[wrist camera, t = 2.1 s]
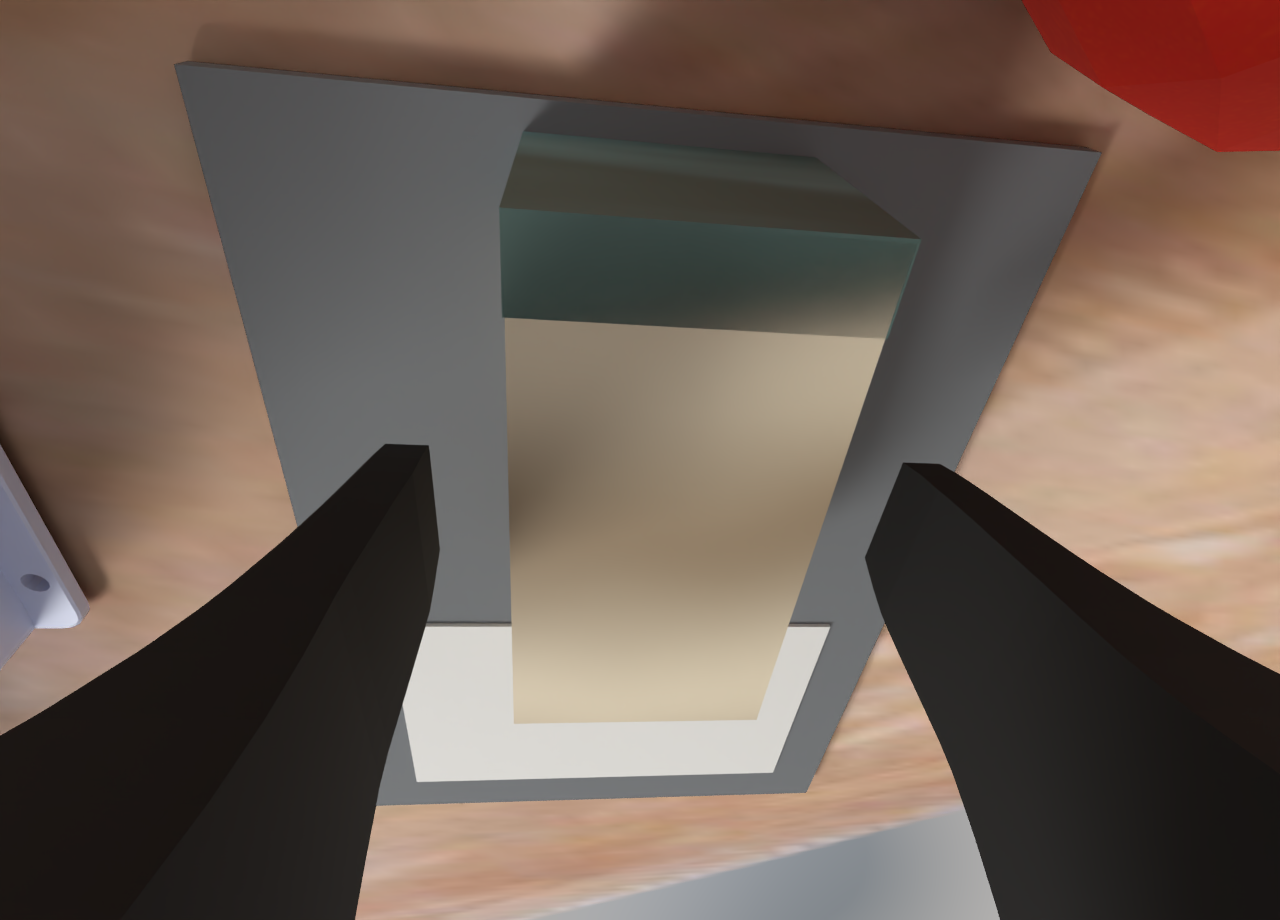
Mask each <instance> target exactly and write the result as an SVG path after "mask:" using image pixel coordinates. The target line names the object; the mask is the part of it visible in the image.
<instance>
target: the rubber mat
mask: <svg viewBox="0 0 1280 920" xmlns="http://www.w3.org/2000/svg"><path fill="white" fill-rule="evenodd" d="M174 66H175V69H176V73H177V77H178V81H179V84H180V88H181V92H182V96H183V99H184V103H185V107H186V111H187V114H188V118H189V122H190V126H191V129H192V133H193V137H194V141H195V144H196V148H197V152H198V156H199V159H200V163H201V167H202V171H203V174H204V178H205V182H206V186H207V189H208V193H209V197H210V200H211V204H212V208H213V212H214V215H215V219H216V223H217V227H218V230H219V234H220V238H221V242H222V245H223V249H224V253H225V257H226V260H227V264H228V268H229V272H230V275H231V279H232V283H233V287H234V290H235V294H236V298H237V302H238V305H239V309H240V313H241V316H242V320H243V324H244V328H245V331H246V335H247V339H248V343H249V346H250V350H251V354H252V358H253V361H254V365H255V369H256V373H257V376H258V380H259V384H260V388H261V391H262V395H263V399H264V403H265V406H266V410H267V414H268V418H269V421H270V425H271V429H272V432H273V436H274V440H275V444H276V447H277V451H278V455H279V459H280V462H281V466H282V470H283V474H284V477H285V481H286V485H287V489H288V492H289V496H290V500H291V504H292V507H293V511H294V515H295V519H296V522H297V526H299V525H301V524H302V523H303V522H304V521H305V520H306V519H307V518H308V517H309V516H310V515H311V514H312V513H314V512H315V511H316V510H317V509H318V508H319V507H320V506H321V505H322V504H323V503H324V502H325V501H326V500H327V499H328V498H330V497H331V496H332V495H333V494H334V493H335V492H336V491H337V490H338V489H339V488H340V487H341V486H342V485H343V484H344V483H345V482H346V481H347V480H348V479H349V478H350V477H351V476H352V475H353V474H354V473H355V472H356V471H357V470H358V469H359V468H360V467H361V466H362V465H363V464H364V463H365V462H366V461H367V460H368V459H369V458H370V457H371V456H372V455H373V454H374V453H375V452H377V451H378V450H379V449H380V448H381V447H382V446H383V445H384V444H407V445H429V450H430V460H431V469H432V479H433V488H434V498H435V507H436V516H437V526H438V535H439V545H440V553H439V559H438V566H437V572H436V579H435V585H434V591H433V597H432V602H431V608H430V613H429V616H428V620H427V623H426V627H425V630H424V634H423V637H422V640H421V644H420V647H419V651H418V654H417V658H416V661H415V664H414V668H413V671H412V674H411V678H410V681H409V684H408V688H407V691H406V694H405V698H404V701H403V705H402V708H401V711H400V715H399V718H398V721H397V725H396V728H395V731H394V735H393V738H392V742H391V745H390V748H389V752H388V756H387V760H386V764H385V767H384V771H383V775H382V779H381V783H380V788H379V793H378V798H377V803H376V806H381V805H414V804H447V803H480V802H513V801H546V800H579V799H613V798H646V797H679V796H712V795H745V794H778V793H806V792H807V790H808V787H809V785H810V783H811V781H812V779H813V777H814V774H815V772H816V770H817V768H818V766H819V764H820V761H821V759H822V757H823V755H824V753H825V751H826V748H827V746H828V744H829V742H830V740H831V738H832V735H833V733H834V731H835V729H836V727H837V725H838V722H839V720H840V718H841V716H842V714H843V712H844V710H845V707H846V705H847V703H848V701H849V699H850V697H851V694H852V692H853V690H854V688H855V686H856V684H857V681H858V679H859V677H860V675H861V673H862V671H863V668H864V666H865V664H866V662H867V660H868V658H869V655H870V653H871V651H872V649H873V647H874V645H875V642H876V640H877V638H878V636H879V634H880V632H881V629H882V627H883V625H884V623H885V622H884V619H883V617H882V615H881V612H880V608H879V605H878V602H877V599H876V596H875V593H874V590H873V586H872V582H871V579H870V575H869V571H868V568H867V564H866V561H865V556H866V553H867V551H868V548H869V546H870V543H871V541H872V538H873V536H874V533H875V531H876V528H877V526H878V523H879V521H880V518H881V516H882V513H883V511H884V508H885V506H886V504H887V501H888V499H889V496H890V494H891V491H892V489H893V486H894V484H895V481H896V479H897V476H898V474H899V471H900V469H901V466H902V464H903V462H904V463H932V464H941V465H943V466H945V467H946V468H948V469H950V470H952V471H953V472H954V471H955V469H956V467H957V465H958V463H959V461H960V458H961V456H962V454H963V452H964V450H965V448H966V445H967V443H968V441H969V439H970V437H971V435H972V432H973V430H974V428H975V426H976V424H977V422H978V419H979V417H980V415H981V413H982V411H983V409H984V406H985V404H986V402H987V400H988V398H989V396H990V393H991V391H992V389H993V387H994V385H995V383H996V380H997V378H998V376H999V374H1000V372H1001V370H1002V367H1003V365H1004V363H1005V361H1006V359H1007V357H1008V354H1009V352H1010V350H1011V348H1012V346H1013V344H1014V341H1015V339H1016V337H1017V335H1018V333H1019V331H1020V328H1021V326H1022V324H1023V322H1024V320H1025V318H1026V315H1027V313H1028V311H1029V309H1030V307H1031V305H1032V302H1033V300H1034V298H1035V296H1036V294H1037V292H1038V289H1039V287H1040V285H1041V283H1042V281H1043V279H1044V276H1045V274H1046V272H1047V270H1048V268H1049V266H1050V263H1051V261H1052V259H1053V257H1054V255H1055V253H1056V250H1057V248H1058V246H1059V244H1060V242H1061V240H1062V238H1063V235H1064V233H1065V231H1066V229H1067V227H1068V225H1069V222H1070V220H1071V218H1072V216H1073V214H1074V212H1075V209H1076V207H1077V205H1078V203H1079V201H1080V199H1081V196H1082V194H1083V192H1084V190H1085V188H1086V186H1087V183H1088V181H1089V179H1090V177H1091V175H1092V173H1093V170H1094V168H1095V166H1096V164H1097V162H1098V160H1099V157H1100V155H1101V152H1099V151H1096V150H1093V149H1090V148H1087V147H1078V146H1067V145H1057V144H1046V143H1036V142H1026V141H1015V140H1005V139H994V138H984V137H973V136H963V135H953V134H942V133H932V132H921V131H911V130H900V129H890V128H880V127H869V126H859V125H848V124H838V123H827V122H817V121H807V120H796V119H786V118H775V117H765V116H755V115H744V114H734V113H723V112H713V111H702V110H692V109H682V108H671V107H661V106H650V105H640V104H629V103H619V102H609V101H598V100H588V99H577V98H567V97H556V96H546V95H536V94H525V93H515V92H504V91H494V90H484V89H473V88H463V87H452V86H442V85H431V84H421V83H411V82H400V81H390V80H379V79H369V78H358V77H348V76H338V75H327V74H317V73H306V72H296V71H286V70H275V69H265V68H254V67H244V66H233V65H223V64H213V63H202V62H192V61H186V62H182V63H177V64H174ZM523 131H526V132H537V133H548V134H559V135H571V136H582V137H593V138H604V139H615V140H627V141H638V142H649V143H660V144H671V145H683V146H694V147H705V148H716V149H728V150H739V151H750V152H761V153H772V154H784V155H795V156H806V157H816V158H817V159H819V160H820V161H821V162H822V163H824V164H825V165H826V166H828V167H829V168H830V169H831V170H833V171H834V172H835V173H837V174H838V175H839V176H840V177H842V178H843V179H844V180H846V181H847V182H848V183H850V184H851V185H852V186H853V187H855V188H856V189H857V190H859V191H860V192H861V193H862V194H864V195H865V196H866V197H868V198H869V199H870V200H871V201H873V202H874V203H875V204H877V205H878V206H879V207H881V208H882V209H883V210H884V211H886V212H887V213H888V214H890V215H891V216H892V217H893V218H895V219H896V220H897V221H899V222H900V223H901V224H903V225H904V226H905V227H906V228H908V229H909V230H910V231H912V232H913V233H914V234H915V235H917V236H918V237H919V238H921V239H922V240H921V243H920V246H919V249H918V252H917V254H916V257H915V260H914V263H913V266H912V269H911V272H910V275H909V278H908V281H907V284H906V287H905V290H904V293H903V296H902V299H901V301H900V304H899V307H898V310H897V313H896V316H895V319H894V322H893V325H892V328H891V331H890V334H889V337H888V339H885V341H884V344H883V347H882V350H881V353H880V356H879V359H878V362H877V365H876V368H875V371H874V374H873V377H872V380H871V383H870V386H869V389H868V392H867V395H866V398H865V401H864V403H863V406H862V409H861V412H860V415H859V418H858V421H857V424H856V427H855V430H854V433H853V436H852V439H851V442H850V445H849V448H848V451H847V454H846V457H845V460H844V463H843V466H842V469H841V471H840V474H839V477H838V480H837V483H836V486H835V489H834V492H833V495H832V498H831V501H830V504H829V507H828V510H827V513H826V516H825V519H824V522H823V525H822V528H821V531H820V534H819V537H818V540H817V542H816V545H815V548H814V551H813V554H812V557H811V560H810V563H809V566H808V569H807V572H806V575H805V578H804V581H803V584H802V587H801V590H800V593H799V596H798V599H797V602H796V605H795V608H794V610H793V613H792V616H791V619H790V622H789V625H788V628H787V631H786V634H785V637H784V640H783V643H782V646H781V649H780V652H779V655H778V658H777V661H776V664H775V667H774V670H773V673H772V676H771V678H770V681H769V684H768V687H767V690H766V693H765V696H764V699H763V702H762V705H761V708H760V711H759V714H758V717H757V720H715V721H653V722H592V723H531V724H514V710H513V666H512V622H511V578H510V534H509V490H508V446H507V402H506V358H505V318H502V303H501V264H500V224H499V206H500V203H501V200H502V197H503V193H504V190H505V187H506V184H507V181H508V177H509V174H510V171H511V168H512V165H513V161H514V158H515V155H516V152H517V149H518V146H519V142H520V139H521V136H522V133H523Z"/></svg>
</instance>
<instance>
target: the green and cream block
mask: <svg viewBox="0 0 1280 920" xmlns="http://www.w3.org/2000/svg"><path fill="white" fill-rule="evenodd" d="M499 224H500V264H501V303H502V318H505V358H506V402H507V446H508V490H509V534H510V578H511V622H512V666H513V710H514V724H531V723H592V722H653V721H715V720H757V717H758V714H759V711H760V708H761V705H762V702H763V699H764V696H765V693H766V690H767V687H768V684H769V681H770V678H771V676H772V673H773V670H774V667H775V664H776V661H777V658H778V655H779V652H780V649H781V646H782V643H783V640H784V637H785V634H786V631H787V628H788V625H789V622H790V619H791V616H792V613H793V610H794V608H795V605H796V602H797V599H798V596H799V593H800V590H801V587H802V584H803V581H804V578H805V575H806V572H807V569H808V566H809V563H810V560H811V557H812V554H813V551H814V548H815V545H816V542H817V540H818V537H819V534H820V531H821V528H822V525H823V522H824V519H825V516H826V513H827V510H828V507H829V504H830V501H831V498H832V495H833V492H834V489H835V486H836V483H837V480H838V477H839V474H840V471H841V469H842V466H843V463H844V460H845V457H846V454H847V451H848V448H849V445H850V442H851V439H852V436H853V433H854V430H855V427H856V424H857V421H858V418H859V415H860V412H861V409H862V406H863V403H864V401H865V398H866V395H867V392H868V389H869V386H870V383H871V380H872V377H873V374H874V371H875V368H876V365H877V362H878V359H879V356H880V353H881V350H882V347H883V344H884V341H885V339H888V337H889V334H890V331H891V328H892V325H893V322H894V319H895V316H896V313H897V310H898V307H899V304H900V301H901V299H902V296H903V293H904V290H905V287H906V284H907V281H908V278H909V275H910V272H911V269H912V266H913V263H914V260H915V257H916V254H917V252H918V249H919V246H920V243H921V240H922V239H921V238H919V237H918V236H917V235H915V234H914V233H913V232H912V231H910V230H909V229H908V228H906V227H905V226H904V225H903V224H901V223H900V222H899V221H897V220H896V219H895V218H893V217H892V216H891V215H890V214H888V213H887V212H886V211H884V210H883V209H882V208H881V207H879V206H878V205H877V204H875V203H874V202H873V201H871V200H870V199H869V198H868V197H866V196H865V195H864V194H862V193H861V192H860V191H859V190H857V189H856V188H855V187H853V186H852V185H851V184H850V183H848V182H847V181H846V180H844V179H843V178H842V177H840V176H839V175H838V174H837V173H835V172H834V171H833V170H831V169H830V168H829V167H828V166H826V165H825V164H824V163H822V162H821V161H820V160H819V159H817V158H816V157H806V156H795V155H784V154H772V153H761V152H750V151H739V150H728V149H716V148H705V147H694V146H683V145H671V144H660V143H649V142H638V141H627V140H615V139H604V138H593V137H582V136H571V135H559V134H548V133H537V132H526V131H523V133H522V136H521V139H520V142H519V146H518V149H517V152H516V155H515V158H514V161H513V165H512V168H511V171H510V174H509V177H508V181H507V184H506V187H505V190H504V193H503V197H502V200H501V203H500V206H499Z"/></svg>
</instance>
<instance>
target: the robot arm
mask: <svg viewBox="0 0 1280 920" xmlns="http://www.w3.org/2000/svg"><path fill="white" fill-rule="evenodd" d="M439 553H440V545H439V535H438V526H437V516H436V507H435V498H434V488H433V479H432V469H431V460H430V450H429V445H407V444H384V445H383V446H382V447H381V448H380V449H379V450H378V451H377V452H375V453H374V454H373V455H372V456H371V457H370V458H369V459H368V460H367V461H366V462H365V463H364V464H363V465H362V466H361V467H360V468H359V469H358V470H357V471H356V472H355V473H354V474H353V475H352V476H351V477H350V478H349V479H348V480H347V481H346V482H345V483H344V484H343V485H342V486H341V487H340V488H339V489H338V490H337V491H336V492H335V493H334V494H333V495H332V496H331V497H330V498H328V499H327V500H326V501H325V502H324V503H323V504H322V505H321V506H320V507H319V508H318V509H317V510H316V511H315V512H314V513H312V514H311V515H310V516H309V517H308V518H307V519H306V520H305V521H304V522H303V523H302V524H301V525H299V526H298V527H297V528H296V529H295V530H294V531H293V532H292V533H291V534H290V535H289V536H288V537H286V538H285V539H284V540H283V541H282V542H281V543H280V544H279V545H277V546H276V547H275V548H274V549H273V550H271V551H270V552H269V553H268V554H267V555H265V556H264V557H263V558H262V559H261V560H259V561H258V562H257V563H256V564H255V565H254V566H252V567H251V568H250V569H249V570H248V571H246V572H245V573H244V574H243V575H242V576H240V577H239V578H238V579H237V580H236V581H234V582H233V583H232V584H231V585H230V586H228V587H227V588H226V589H225V590H223V591H222V592H221V593H219V594H218V595H217V596H215V597H214V598H213V599H212V600H210V601H209V602H208V603H206V604H205V605H204V606H202V607H201V608H200V609H198V610H197V611H196V612H194V613H193V614H191V615H190V616H189V617H187V618H186V619H184V620H183V621H181V622H180V623H179V624H177V625H176V626H174V627H173V628H172V629H170V630H169V631H167V632H166V633H165V634H163V635H162V636H160V637H159V638H157V639H156V640H155V641H153V642H152V643H150V644H149V645H147V646H146V647H144V648H143V649H141V650H140V651H138V652H137V653H135V654H134V655H132V656H130V657H129V658H127V659H126V660H124V661H122V662H121V663H119V664H118V665H116V666H114V667H113V668H111V669H110V670H108V671H106V672H105V673H103V674H102V675H100V676H98V677H97V678H95V679H94V680H92V681H91V682H89V683H87V684H86V685H84V686H83V687H81V688H79V689H78V690H76V691H75V692H73V693H71V694H70V695H68V696H67V697H65V698H63V699H62V700H60V701H59V702H57V703H55V704H54V705H52V706H51V707H49V708H47V709H46V710H44V711H42V712H41V713H39V714H37V715H36V716H34V717H32V718H30V719H29V720H27V721H25V722H23V723H22V724H20V725H18V726H16V727H15V728H13V729H11V730H9V731H8V732H6V733H4V734H2V735H1V736H0V920H355V916H356V910H357V905H358V899H359V894H360V888H361V882H362V877H363V871H364V866H365V860H366V855H367V850H368V845H369V839H370V834H371V829H372V824H373V819H374V814H375V809H376V803H377V798H378V793H379V788H380V783H381V779H382V775H383V771H384V767H385V764H386V760H387V756H388V752H389V748H390V745H391V742H392V738H393V735H394V731H395V728H396V725H397V721H398V718H399V715H400V711H401V708H402V705H403V701H404V698H405V694H406V691H407V688H408V684H409V681H410V678H411V674H412V671H413V668H414V664H415V661H416V658H417V654H418V651H419V647H420V644H421V640H422V637H423V634H424V630H425V627H426V623H427V620H428V616H429V613H430V608H431V602H432V597H433V591H434V585H435V579H436V572H437V566H438V559H439ZM865 561H866V564H867V568H868V571H869V575H870V579H871V582H872V586H873V590H874V593H875V596H876V599H877V602H878V605H879V608H880V612H881V615H882V617H883V619H884V622H885V624H886V626H887V629H888V631H889V633H890V635H891V637H892V640H893V642H894V644H895V646H896V649H897V651H898V653H899V655H900V657H901V660H902V662H903V664H904V666H905V668H906V670H907V673H908V675H909V677H910V679H911V681H912V683H913V685H914V688H915V690H916V692H917V694H918V696H919V698H920V701H921V703H922V705H923V707H924V709H925V711H926V714H927V716H928V718H929V720H930V722H931V724H932V726H933V729H934V731H935V733H936V735H937V737H938V739H939V742H940V744H941V746H942V749H943V751H944V753H945V756H946V758H947V761H948V763H949V766H950V768H951V770H952V773H953V776H954V778H955V781H956V784H957V787H958V790H959V793H960V796H961V799H962V802H963V805H964V807H965V810H966V813H967V816H968V819H969V822H970V825H971V827H972V831H973V834H974V837H975V839H976V843H977V846H978V849H979V852H980V856H981V859H982V862H983V865H984V868H985V871H986V875H987V878H988V881H989V884H990V887H991V891H992V894H993V897H994V901H995V904H996V907H997V910H998V914H999V917H1000V920H1280V674H1279V673H1277V672H1275V671H1273V670H1271V669H1269V668H1267V667H1265V666H1263V665H1261V664H1259V663H1257V662H1255V661H1253V660H1251V659H1249V658H1247V657H1245V656H1244V655H1242V654H1240V653H1238V652H1236V651H1234V650H1232V649H1230V648H1229V647H1227V646H1225V645H1223V644H1221V643H1220V642H1218V641H1216V640H1214V639H1212V638H1211V637H1209V636H1207V635H1205V634H1203V633H1202V632H1200V631H1198V630H1196V629H1194V628H1193V627H1191V626H1189V625H1187V624H1185V623H1184V622H1182V621H1180V620H1178V619H1177V618H1175V617H1173V616H1171V615H1170V614H1168V613H1166V612H1165V611H1163V610H1161V609H1160V608H1158V607H1156V606H1155V605H1153V604H1151V603H1150V602H1148V601H1146V600H1145V599H1143V598H1142V597H1140V596H1138V595H1137V594H1135V593H1134V592H1132V591H1130V590H1129V589H1127V588H1126V587H1124V586H1123V585H1121V584H1119V583H1118V582H1116V581H1115V580H1113V579H1111V578H1110V577H1108V576H1107V575H1105V574H1104V573H1102V572H1100V571H1099V570H1097V569H1096V568H1094V567H1093V566H1091V565H1090V564H1088V563H1087V562H1085V561H1084V560H1082V559H1081V558H1079V557H1078V556H1076V555H1075V554H1073V553H1072V552H1070V551H1069V550H1067V549H1066V548H1064V547H1063V546H1062V545H1060V544H1059V543H1057V542H1056V541H1054V540H1053V539H1051V538H1050V537H1048V536H1047V535H1046V534H1044V533H1043V532H1041V531H1040V530H1038V529H1037V528H1035V527H1034V526H1033V525H1031V524H1030V523H1028V522H1027V521H1025V520H1024V519H1023V518H1021V517H1020V516H1018V515H1017V514H1015V513H1014V512H1013V511H1011V510H1010V509H1008V508H1007V507H1005V506H1004V505H1003V504H1001V503H1000V502H998V501H997V500H995V499H994V498H993V497H991V496H990V495H988V494H987V493H985V492H984V491H982V490H981V489H979V488H978V487H976V486H975V485H973V484H972V483H971V482H969V481H967V480H966V479H964V478H963V477H961V476H960V475H958V474H956V473H955V472H953V471H952V470H950V469H948V468H946V467H945V466H943V465H941V464H932V463H904V462H903V464H902V466H901V469H900V471H899V474H898V476H897V479H896V481H895V484H894V486H893V489H892V491H891V494H890V496H889V499H888V501H887V504H886V506H885V508H884V511H883V513H882V516H881V518H880V521H879V523H878V526H877V528H876V531H875V533H874V536H873V538H872V541H871V543H870V546H869V548H868V551H867V553H866V556H865ZM89 610H90V607H89V603H88V601H87V599H86V597H85V596H84V594H83V592H82V590H81V588H80V587H79V585H78V583H77V581H76V579H75V578H74V576H73V574H72V572H71V570H70V569H69V567H68V565H67V563H66V561H65V560H64V558H63V556H62V554H61V552H60V551H59V549H58V547H57V545H56V544H55V542H54V540H53V538H52V536H51V535H50V533H49V531H48V529H47V527H46V526H45V524H44V522H43V520H42V518H41V517H40V515H39V513H38V511H37V509H36V508H35V506H34V504H33V502H32V500H31V499H30V497H29V495H28V493H27V492H26V490H25V488H24V486H23V484H22V483H21V481H20V479H19V477H18V475H17V474H16V472H15V470H14V468H13V466H12V465H11V463H10V461H9V459H8V457H7V456H6V454H5V452H4V450H3V448H2V447H1V445H0V670H1V669H2V668H3V666H4V665H5V664H6V663H7V661H8V660H9V659H10V658H11V657H12V655H13V654H14V653H15V652H16V650H17V649H18V648H19V647H20V646H21V644H22V643H23V642H24V641H25V639H26V638H27V637H28V636H29V635H30V633H31V632H32V631H33V630H34V628H70V627H75V626H76V625H78V624H80V623H81V621H82V620H83V619H84V617H85V616H86V615H87V613H88V612H89Z"/></svg>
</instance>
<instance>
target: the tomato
mask: <svg viewBox="0 0 1280 920" xmlns="http://www.w3.org/2000/svg"><path fill="white" fill-rule="evenodd" d="M1022 2H1023V4H1024V6H1025V8H1026V9H1027V11H1028V13H1029V15H1030V16H1031V18H1032V20H1033V22H1034V24H1035V25H1036V27H1037V29H1038V31H1039V32H1040V34H1041V36H1042V38H1043V39H1044V41H1045V43H1046V45H1047V47H1048V48H1049V50H1050V52H1051V53H1053V54H1054V55H1056V56H1057V57H1058V58H1060V59H1061V60H1063V61H1064V62H1066V63H1067V64H1069V65H1070V66H1072V67H1073V68H1075V69H1076V70H1078V71H1079V72H1081V73H1082V74H1084V75H1085V76H1087V77H1088V78H1090V79H1091V80H1093V81H1094V82H1095V83H1097V84H1098V85H1100V86H1101V87H1103V88H1105V89H1106V90H1108V91H1110V92H1111V93H1113V94H1115V95H1116V96H1118V97H1120V98H1121V99H1123V100H1125V101H1127V102H1128V103H1130V104H1132V105H1133V106H1135V107H1137V108H1138V109H1140V110H1142V111H1143V112H1145V113H1147V114H1149V115H1150V116H1152V117H1154V118H1156V119H1158V120H1160V121H1161V122H1163V123H1165V124H1167V125H1169V126H1171V127H1172V128H1174V129H1176V130H1178V131H1180V132H1182V133H1183V134H1185V135H1187V136H1189V137H1191V138H1193V139H1194V140H1196V141H1198V142H1200V143H1202V144H1204V145H1205V146H1207V147H1209V148H1211V149H1213V150H1215V151H1216V152H1233V151H1280V0H1022Z"/></svg>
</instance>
